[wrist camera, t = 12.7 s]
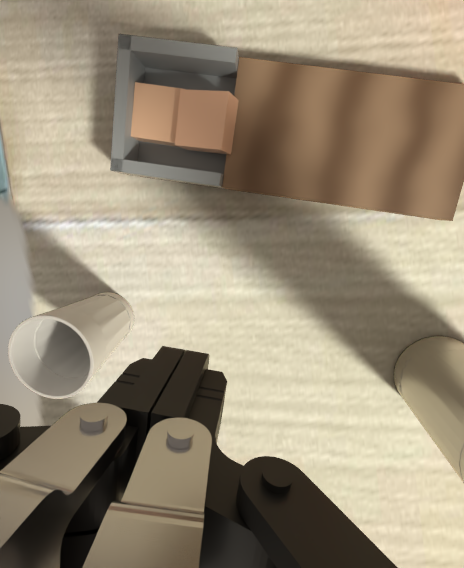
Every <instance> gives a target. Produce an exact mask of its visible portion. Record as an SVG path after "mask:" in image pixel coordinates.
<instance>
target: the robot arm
mask: <svg viewBox="0 0 464 568" xmlns="http://www.w3.org/2000/svg"><path fill="white" fill-rule="evenodd" d="M208 364H209V354H206V353H200V352H194V351H189V350H183V349H177V348H171V347H165V346H162V347H161V349H160V350H159V351H158V353H157V354H156V355H155V357H154V358H153V359H152V360H151V359H145V358H142V359H140V360H138V361H136V362H134V363H132V364H130V365H129V366H128V367H127V369H126V370H125V371H124V372H123V374H121V375H120V377H119V378H118V379H117V381H116V382H114V383H113V385H112V386H111V387H110V388H109V389H108V390H107V392H106V393H105V394H104V395H103V396H102V397H101V398H100V400H99V401H98V402H97V403H89V404H84V405H81V406H78V407H75V408H73V409H71V410H70V411H68V412H67V413H66V414H64V415H63V416H62V417H61V418H60V419H59V420H58V421H56V422H55V423H54V424H53V425H52V426H35V427H20V413H19V411H18V410H17V409H15V408H14V407H11V406H8V405H4V404H0V568H397V567H396V566H395V565H394V564H393V563H392V562H391V561H390V560H389V559H388V558H387V557H386V556H385V555H384V554H383V553H382V552H381V551H380V550H379V549H378V548H377V546H376V545H375V544H374V543H373V542H372V541H371V540H370V539H369V538H368V537H367V536H366V535H365V534H364V533H363V532H362V531H361V530H360V529H359V528H358V527H357V526H356V525H355V524H354V523H353V522H352V521H351V520H350V519H349V518H348V517H347V516H346V515H345V514H344V513H343V512H342V511H341V510H340V509H339V508H338V507H337V506H336V505H335V504H334V503H333V502H332V501H331V500H330V499H329V498H328V497H327V496H326V495H325V494H324V493H323V492H322V491H321V490H320V489H319V488H318V487H317V486H316V485H315V484H314V483H313V482H312V481H311V480H310V479H309V478H308V477H307V476H306V475H305V474H304V473H303V472H302V471H301V470H300V469H299V468H298V467H296V466H295V465H293V464H292V463H290V462H288V461H286V460H283V459H280V458H276V457H269V456H264V457H258V458H254V459H252V460H250V461H249V462H247V463H246V464H245V465H244V466H243V465H241V464H239V463H236V462H235V461H233V460H231V459H230V458H228V457H227V456H226V455H224V454H223V453H222V452H221V450H220V449H219V447H218V446H217V438H218V434H219V429H220V424H221V417H222V411H223V404H224V398H225V392H226V385H227V380H226V378H225V376H224V375H223V373H222V372H219V371H213V370H208ZM394 382H395V385H396V388H397V390H398V392H399V393H400V395H401V396H402V398H403V399H404V401H405V402H406V403H407V405H408V406H409V407H410V409H411V410H412V412H413V413H414V415H415V416H416V417H417V419H418V420H419V422H420V423H421V424H422V426H423V427H424V429H425V430H426V431H427V433H428V434H429V435H430V437H431V438H432V440H433V441H434V442H435V444H436V445H437V447H438V448H439V449H440V451H441V452H442V454H443V455H444V456H445V458H446V459H447V460H448V462H449V463H450V465H451V466H452V467H453V469H454V470H455V472H456V473H457V474H458V476H459V477H460V478H461V480H462V481H463V483H464V343H462V342H461V341H459V340H456V339H454V338H451V337H445V336H433V337H428V338H424V339H421V340H419V341H417V342H415V343H413V344H412V345H410V346H409V347H408V348H407V349H406V350H405V351H404V352H403V353H402V354H401V356H400V357H399V359H398V360H397V363H396V366H395V370H394Z"/></svg>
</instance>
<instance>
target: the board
mask: <svg viewBox="0 0 464 568" xmlns="http://www.w3.org/2000/svg"><path fill="white" fill-rule="evenodd" d="M234 96H235V97H236V98H237V99H238V100H239V102H238V109H237V116H236V123H235V130H234V137H233V144H232V151H231V155H229V154H226V162H225V169H224V177H223V185H222V188H224V189H230V190H237V191H244V192H251V193H258V194H265V195H272V196H279V197H285V198H292V199H299V200H306V201H313V202H320V203H327V204H334V205H341V206H348V207H354V208H361V209H368V210H375V211H382V212H389V213H396V214H403V215H410V216H417V217H423V218H430V219H437V220H449V221H453V217H454V214H455V210H456V206H457V203H458V199H459V196H460V192H461V189H462V185H463V182H464V84H458V83H450V82H441V81H433V80H425V79H417V78H408V77H400V76H392V75H384V74H375V73H367V72H359V71H351V70H342V69H334V68H326V67H317V66H309V65H301V64H293V63H284V62H276V61H268V60H260V59H251V58H243V57H239V63H238V71H237V79H236V86H235V94H234Z"/></svg>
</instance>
